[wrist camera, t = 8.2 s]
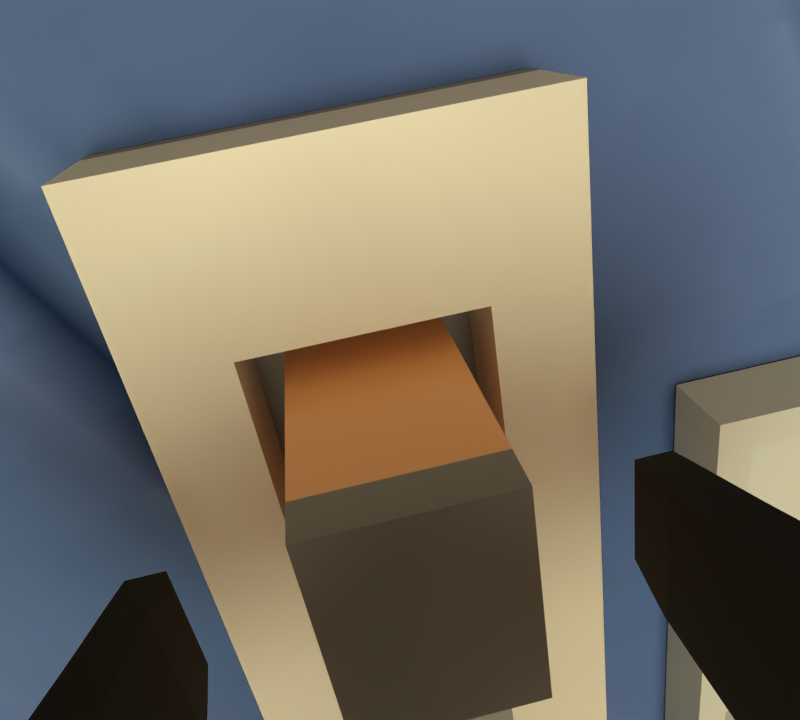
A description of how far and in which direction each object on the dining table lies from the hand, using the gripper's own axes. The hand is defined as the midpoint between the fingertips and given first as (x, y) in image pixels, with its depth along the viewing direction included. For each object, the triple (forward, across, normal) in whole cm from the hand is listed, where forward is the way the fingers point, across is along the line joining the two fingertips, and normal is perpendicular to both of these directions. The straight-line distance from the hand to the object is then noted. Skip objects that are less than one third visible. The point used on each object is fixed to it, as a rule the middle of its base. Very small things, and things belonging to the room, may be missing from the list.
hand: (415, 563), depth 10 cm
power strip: (+5, 0, +3) cm, 6 cm away
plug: (+4, 0, 0) cm, 5 cm away
